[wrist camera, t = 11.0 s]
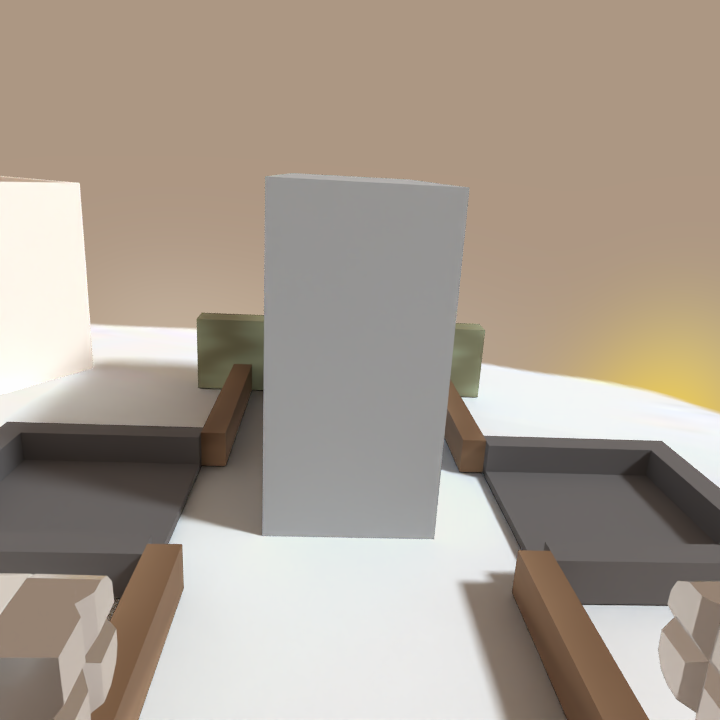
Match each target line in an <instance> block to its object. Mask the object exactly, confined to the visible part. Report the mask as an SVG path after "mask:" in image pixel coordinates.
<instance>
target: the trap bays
mask: <svg viewBox="0 0 720 720" xmlns="http://www.w3.org/2000/svg"><path fill="white" fill-rule="evenodd" d="M202 429H203V428H198V427H164V426H130V425H95V424H61V423H27V422H6V423H5V424H4V425H3V426H1V427H0V573H16V574H33V575H34V574H63V575H97V576H108V577H109V578H110V580H111V581H112V586H113V594H114V598H121V597H122V595H123V593H124V591H125V589H126V587H127V585H128V583H129V581H130V579H131V576H132V574H133V572H134V570H135V568H136V566H137V564H138V562H139V560H140V558H141V556H142V554H143V552H144V549H145V547H146V545H147V544H168V543H169V541H170V538H171V536H172V534H173V531H174V529H175V527H176V524H177V522H178V520H179V517H180V515H181V513H182V510H183V508H184V506H185V503H186V501H187V498H188V496H189V494H190V491H191V489H192V487H193V484H194V482H195V480H196V477H197V475H198V473H199V470H200V468H201V466H202V459H201V431H202ZM484 438H485V439H486V447H485V455H484V463H483V471H482V473H483V475H484V477H485V479H486V481H487V482H488V484H489V486H490V488H491V490H492V492H493V494H494V496H495V498H496V500H497V502H498V504H499V506H500V508H501V510H502V512H503V514H504V516H505V518H506V520H507V522H508V524H509V526H510V528H511V530H512V532H513V534H514V535H515V537H516V539H517V541H518V543H519V545H520V547H521V549H522V550H532V551H551V552H552V554H553V556H554V558H555V559H556V561H557V563H558V564H559V566H560V568H561V570H562V571H563V573H564V575H565V576H566V578H567V580H568V582H569V583H570V585H571V587H572V588H573V590H574V592H575V594H576V595H577V597H578V599H579V600H580V602H581V604H636V605H667V604H668V600H669V596H670V592H671V589H672V588H673V586H674V585H675V584H676V582H677V581H720V488H719V487H718V486H716V485H715V484H714V483H713V482H711V481H710V480H709V479H708V478H706V477H705V476H704V475H703V474H702V473H700V472H699V471H698V470H697V469H695V468H694V467H693V466H692V465H691V464H689V463H688V462H687V461H686V460H684V459H683V458H682V457H681V456H679V455H678V454H677V453H676V452H675V451H673V450H672V449H671V448H670V447H668V446H667V445H666V444H665V443H664V442H662V441H643V440H609V439H574V438H540V437H506V436H484Z"/></svg>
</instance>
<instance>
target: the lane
mask: <svg viewBox="0 0 720 720" xmlns="http://www.w3.org/2000/svg"><path fill="white" fill-rule="evenodd" d="M484 336H485V330H484V329H483V328H482V327H481V326H480V325H479V324H465V323H456V326H455V336H454V346H453V356H452V366H451V375H450V385H449V395H448V405H447V415H446V425H445V435H444V437H445V439H446V442H447V444H448V446H449V449H450V451H451V453H452V456H453V458H454V460H455V462H456V465H457V467H458V469H459V472H482V471H483V463H484V455H485V447H486V439H485V438H484V436H483V434H482V432H481V431H480V429H479V427H478V426H477V424H476V422H475V420H474V419H473V417H472V415H471V414H470V412H469V410H468V408H467V407H466V405H465V403H464V402H463V400H462V398H461V397H477V396H478V388H479V379H480V370H481V362H482V353H483V344H484ZM197 351H198V388H219V389H222V390H221V392H220V394H219V396H218V398H217V400H216V402H215V404H214V406H213V408H212V410H211V412H210V415H209V417H208V419H207V421H206V423H205V425H204V427H203V429H202V431H201V459H202V465H210V466H226V463H227V461H228V458H229V455H230V452H231V449H232V446H233V443H234V440H235V437H236V434H237V431H238V429H239V426H240V423H241V420H242V417H243V414H244V411H245V408H246V405H247V402H248V400H249V397H250V394H251V391H252V390H264V315H243V314H220V313H219V314H218V313H201V315H200V316H199V317H198V318H197ZM183 588H184V584H183V555H182V544H147V545H146V547H145V549H144V552H143V554H142V556H141V558H140V560H139V562H138V564H137V566H136V568H135V570H134V572H133V574H132V576H131V579H130V581H129V583H128V585H127V587H126V589H125V591H124V593H123V595H122V597H121V599H120V601H119V603H118V605H117V608H116V610H115V612H114V614H113V616H112V618H111V620H110V622H111V623H112V624H113V626H114V627H115V628H116V630H117V658H116V665H115V670H114V674H113V679H112V683H111V686H110V689H109V691H108V694H107V697H106V699H105V702H104V703H103V704H102V705H101V706H99V707H98V708H97V709H96V710H94V711H93V712H92V713H91V720H138V719H139V716H140V713H141V710H142V707H143V705H144V702H145V699H146V696H147V693H148V690H149V687H150V684H151V681H152V678H153V676H154V673H155V670H156V667H157V664H158V661H159V658H160V655H161V652H162V649H163V646H164V644H165V641H166V638H167V635H168V632H169V629H170V626H171V623H172V620H173V617H174V615H175V612H176V609H177V606H178V603H179V600H180V597H181V594H182V591H183ZM512 593H513V596H514V598H515V600H516V603H517V605H518V607H519V610H520V612H521V614H522V616H523V619H524V621H525V623H526V626H527V628H528V630H529V632H530V635H531V637H532V639H533V642H534V644H535V646H536V649H537V651H538V653H539V655H540V658H541V660H542V662H543V665H544V667H545V669H546V672H547V674H548V676H549V678H550V681H551V683H552V685H553V688H554V690H555V692H556V695H557V697H558V699H559V701H560V704H561V706H562V708H563V711H564V713H565V715H566V717H567V720H649V719H648V717H647V715H646V714H645V712H644V710H643V708H642V707H641V705H640V703H639V702H638V700H637V698H636V696H635V695H634V693H633V691H632V690H631V688H630V686H629V684H628V683H627V681H626V679H625V678H624V676H623V674H622V672H621V671H620V669H619V667H618V666H617V664H616V662H615V660H614V659H613V657H612V655H611V654H610V652H609V650H608V648H607V647H606V645H605V643H604V642H603V640H602V638H601V636H600V635H599V633H598V631H597V630H596V628H595V626H594V624H593V623H592V621H591V619H590V618H589V616H588V614H587V612H586V611H585V609H584V607H583V606H582V604H581V602H580V600H579V599H578V597H577V595H576V594H575V592H574V590H573V588H572V587H571V585H570V583H569V582H568V580H567V578H566V576H565V575H564V573H563V571H562V570H561V568H560V566H559V564H558V563H557V561H556V559H555V558H554V556H553V554H552V552H551V551H532V550H518V555H517V562H516V568H515V575H514V582H513V589H512Z"/></svg>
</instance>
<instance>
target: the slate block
mask: <svg viewBox="0 0 720 720" xmlns="http://www.w3.org/2000/svg"><path fill="white" fill-rule="evenodd" d="M468 197H469V188H468V187H460V186H453V185H445V184H438V183H431V182H423V181H416V180H406V179H387V178H368V177H351V176H333V175H315V174H296V173H290V174H282V175H274V176H266V177H265V276H264V279H265V280H264V396H263V517H262V536H292V537H346V538H399V539H434V534H435V524H436V514H437V505H438V495H439V485H440V475H441V465H442V455H443V445H444V435H445V425H446V415H447V405H448V395H449V385H450V375H451V366H452V356H453V346H454V336H455V326H456V316H457V306H458V295H459V286H460V276H461V266H462V256H463V246H464V236H465V226H466V217H467V216H466V215H467V206H468Z"/></svg>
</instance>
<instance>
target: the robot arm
mask: <svg viewBox="0 0 720 720" xmlns="http://www.w3.org/2000/svg"><path fill="white" fill-rule="evenodd" d="M113 603H114V594H113V586H112V581H111V580H110V578H109V577H108V576H97V575H63V574H34V575H33V574H16V573H0V720H91V713H92V712H93V711H94V710H96V709H97V708H98V707H99V706H101V705H102V704H103V703H104V702H105V699H106V697H107V694H108V691H109V689H110V686H111V683H112V679H113V674H114V670H115V665H116V658H117V630H116V628H115V627H114V626H113V624H112V623H111V622H110V621H109V620H108V619H107V616H108V614H109V612H110V610H111V608H112V606H113ZM667 605H668V606H669V608H670V610H671V612H672V613H673V615H674V618H673V619H672V620H671V621H670V622H669V623H668V624H667V625H666V626H665V627H664V628H663V629H662V630H661V636H660V642H659V647H658V652H659V659H660V667H661V671H662V673H663V676H664V678H665V681H666V683H667V685H668V687H669V689H670V690H671V692H672V693H673V695H674V696H675V698H676V699H677V700H678V701H679V702H681V703H682V704H684V705H685V706H687V707H688V708H690V709H691V710H693V711H694V712H696V719H695V720H720V581H677V582H676V584H675V585H674V586H673V588H672V589H671V592H670V596H669V600H668V604H667Z"/></svg>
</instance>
